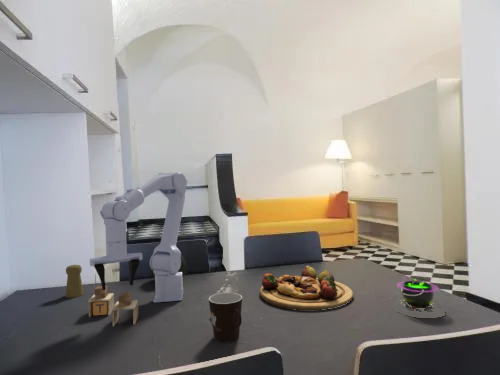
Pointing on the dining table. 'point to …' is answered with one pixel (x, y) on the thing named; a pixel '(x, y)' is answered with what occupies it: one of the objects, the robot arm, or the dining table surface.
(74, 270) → the cork
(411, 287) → the toy cauldron
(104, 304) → the orange cube
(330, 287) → the wooden plate with food
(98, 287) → the cover
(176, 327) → the dining table surface
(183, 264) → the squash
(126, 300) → the cover
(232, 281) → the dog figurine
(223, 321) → the coffee mug
